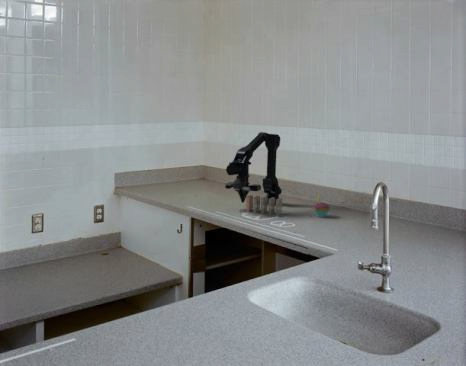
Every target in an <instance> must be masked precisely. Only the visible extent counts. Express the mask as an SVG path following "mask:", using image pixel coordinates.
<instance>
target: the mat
mask: <svg viewBox="0 0 466 366" xmlns="http://www.w3.org/2000/svg"><path fill="white" fill-rule="evenodd" d="M239 213H245V214H246V213H247V214H256V215H265V216H273V217H282V218H284V217H286V216H288V215H290V213H288V212H282V214H280V215H276V211H275V213H273V214H268V210H267V212H266V213H264V214H262V213H261V209H260V211H259V212H257V213H253V210H252V211H250V212H246V208H245V209H242V210H240V211H239Z"/></svg>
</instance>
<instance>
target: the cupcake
mask: <svg viewBox="0 0 466 366" xmlns="http://www.w3.org/2000/svg"><path fill="white" fill-rule="evenodd" d="M320 197H321V196H320V194H318V202H317V203H315V204H314V205H312V206H313V207H312V209H313V210H314V212H315V215H316V217H318V218H326V217H327V215H328V211H330V210H331V206H330V205H329V204H328V203H326V202H321V198H320Z"/></svg>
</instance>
